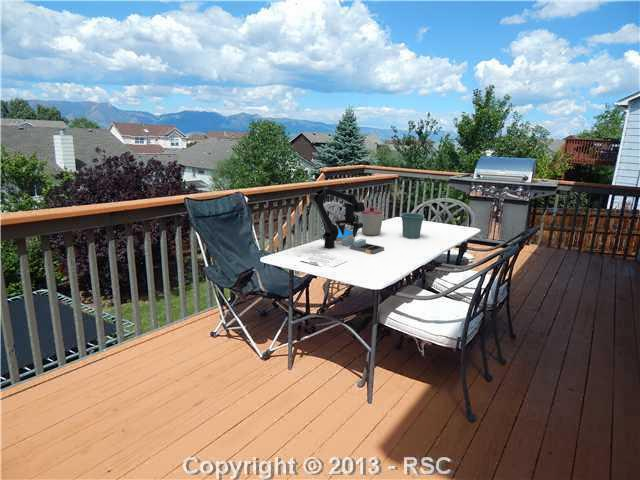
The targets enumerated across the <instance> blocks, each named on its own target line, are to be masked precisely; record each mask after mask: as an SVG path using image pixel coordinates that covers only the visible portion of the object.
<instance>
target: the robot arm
mask: <svg viewBox="0 0 640 480" xmlns="http://www.w3.org/2000/svg"><path fill="white" fill-rule="evenodd" d="M328 196H331V197H335V198H339V199H340V200H341V201H343V202H344V203H343V204H342V205H341V207H344V214H343V217H344V219H342V218H340V219H337V220H335V224H334V223H332V220H331V219H330V216H329V214H328V212H327V210H326V208H325V205H324V199H326V198H327V197H328ZM308 199H309V201H310V202H311V203H312V204H313V206H314V207H315V208H316V210H317V212H318V214H319V216H320V217H321V220H322V223H323V224H324V231H325V232H324V233H323V234H322V235H323V238H324V239H325V240H324V249H327V250H329V249H335V247H336V246H335V243H336V242H335V241H336V239H337V236H338V234H339V232H338V231H339V230H338V228H339V229H340V231H341V233H342V235H344V229H345V227H346V226H352V230H353V238H355V239H356V237H357V236H356V234H357V235H358V232H357V231H359V229H361V227H363V224H362V223H361V221H360V218H359V217H357V216H356V215H355V213H359V212H364V210H366V207H365V205H364V202H363V201H358V200H357V197H356V195H355V194H352V193H347V192H346V193H345V192H341V191H337V190H334V189H331V188H330V187H323V188H322V189H319V190H316V191H315V192H312V193H310V194H309V196H308Z"/></svg>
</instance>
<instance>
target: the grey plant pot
mask: <svg viewBox="0 0 640 480" xmlns="http://www.w3.org/2000/svg"><path fill="white" fill-rule="evenodd" d="M358 213H359V215H360V223H362V224H363V227H361V228H360V229H361V233H362V234H363V235H365V236H370V237H372V236H373V237H375V236H378V235H379V234H380V233H381V231H382V226H383V225H382V224H383V217H384V214H385V212H384V211H382V210H381V209H375V207H374V206H369V208H367V209H366V208H365V210H364V212H358Z"/></svg>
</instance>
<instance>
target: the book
mask: <svg viewBox="0 0 640 480" xmlns="http://www.w3.org/2000/svg"><path fill="white" fill-rule="evenodd" d="M337 228H338V230H339V231H338V232H339V234H338V236H337V239H336V241H335V243H339V242H343V240H344V239H347V238H351V237H352V238H354V237H353V229H347V228H344V235H342V233H341V231H340V229H339V227H337ZM358 231H359V230H358ZM358 231H357V234H356V236H355V237H357V236H358ZM320 239H321V240H322V239H323V240H322V241H325V239H324V238H323V234H321V236H320Z"/></svg>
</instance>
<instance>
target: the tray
mask: <svg viewBox="0 0 640 480" xmlns="http://www.w3.org/2000/svg"><path fill="white" fill-rule="evenodd" d="M299 256H300V257H302V256H304V257H303V258H304V259H306V260H310V262H308V263H307V264H310V265H314V266H319V267H324V266H327V267H330V268H334V267H336V266H339V265H341V264H344V263H346V262H347V260H342V257H338V256H334V255H329V254H326V253H325V254H324V253H311V252H309V253H306V254H302V255H299ZM305 257H308V258H305ZM312 261H313V262H312Z"/></svg>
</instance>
